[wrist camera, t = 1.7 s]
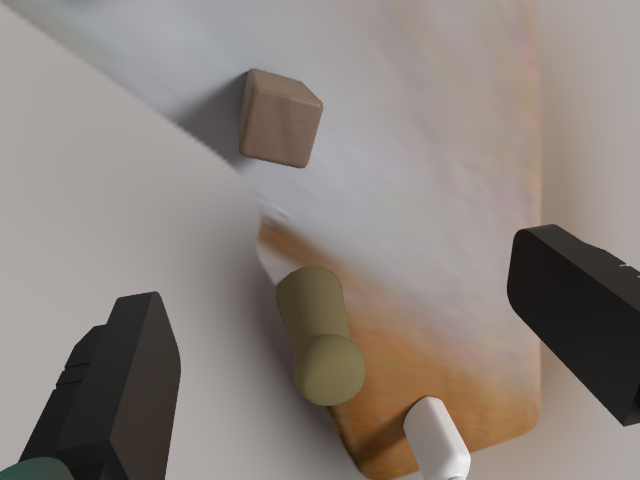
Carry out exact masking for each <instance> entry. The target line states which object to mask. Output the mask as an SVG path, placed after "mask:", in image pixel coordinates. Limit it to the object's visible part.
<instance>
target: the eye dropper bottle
mask: <svg viewBox="0 0 640 480" xmlns="http://www.w3.org/2000/svg"><path fill="white" fill-rule="evenodd" d="M403 428H404V431H405V434H406V436H407V439H408V441H409V444H410V446H411V449H412V451H413V453H414V456H415V458H416V461H417V463H418V466H419V468H420V470H421V473H422V475H423V478H424V480H466V476H467V474H468V471H469V468H470V461H471V459H470V454H469V452H468V450H467V448H466V446H465V444H464V442H463V440H462V438H461V436H460V434H459V432H458V431H457V429H456V427H455V425H454V423H453V421H452V419H451V417H450V416H449V414H448V412H447V410H446V408H445V406H444V404H443V402H442V401H441V400H440V399H438V398H434V397H429V396H426V397H424V398H422V399H421V400H419V401H418V402H417V403H416V404H415V405H414V406H413V407H412V408H411V409H410V411H409V412H408V414H407V415H406V418H405V420H404V425H403Z"/></svg>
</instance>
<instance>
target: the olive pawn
mask: <svg viewBox="0 0 640 480" xmlns="http://www.w3.org/2000/svg"><path fill="white" fill-rule="evenodd" d="M276 299H277V305H278V308H279V310H280V313H281V315H282V318H283V321H284V324H285V326H286V329H287V332H288V334H289V337H290V340H291V342H292V345H293V347H294V350H295V353H296V356H295V361H294V365H293V375H294V381H295V384H296V387H297V389H298V390H299V392H300V393H301V394H302V396H303V397H305V398H306V399H307V400H309V401H310V402H312V403H314V404H318V405H321V406H332V405H336V404H340V403H343V402H345V401H347V400H349V399H350V398H352V397H353V396H354V395H356V394H357V392H358V391H359V390H360V388H361V387H362V384H363V381H364V379H365V376H366V369H365V360H364V357H363V355H362V353H361V351H360V349H359V348H358V346H357V345H356V344H355V343H354V342H353V341H352V340H350V335H349V329H348V323H347V317H346V310H345V304H344V298H343V292H342V285H341V283H340V281H339V279H338V277H337V276H335V275H334V274H333V273H332V272H331V271H329V270H326V269H324V268H322V267H312V266H311V267H305V268H300V269H298V270H296V271H294V272H292V273H290V274H289V275H288V276H287V277H286V278H284V279H283V280H282V282H281V284H280V285H279V287H278V290H277V295H276Z"/></svg>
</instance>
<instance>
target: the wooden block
mask: <svg viewBox="0 0 640 480" xmlns="http://www.w3.org/2000/svg"><path fill="white" fill-rule="evenodd" d="M322 111H323V103H322V102H321V101H320V100H319V99H318V98H317V97H316V96H315V95H314V94H313V93H312V92H311V91H310V90H309V89H308V88H307V87H306V86H305V85H304V84H303V83H302V82H301V81H298V80H294V79H291V78H287V77H283V76H280V75H276V74H273V73H269V72H266V71H262V70H258V69H250V70H249V72H248V74H247V79H246V84H245V89H244V94H243V99H242V104H241V109H240V115H239V120H238V122H239V149H240V153H241V154H242V155H244V156H245V157H250V158H254V159H259V160H263V161H268V162H273V163H277V164H282V165H286V166H291V167H295V168H305V167H306V166H307V164H308V162H309V158H310V155H311V151H312V147H313V144H314V140H315V136H316V133H317V129H318V125H319V122H320V118H321V115H322Z"/></svg>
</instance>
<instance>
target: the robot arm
mask: <svg viewBox="0 0 640 480" xmlns="http://www.w3.org/2000/svg"><path fill="white" fill-rule="evenodd" d="M507 295H508V299H509V302H510V304H511V306H512V308H513V310H514V311H515V312H516V314H517V315H518V316H519V317H520V318H521V319H522V320H523V321H524V322H525V323H526V324H527V325H528V326H529V327H530V328H531V329H532V330H533V332H534V333H535V334H536V335H537V336H538V337H539V338H540V339H541V340H542V341H543V342H544V343H545V344H546V345H547V346H548V347H549V348H550V349H551V351H552V352H553V353H554V354H555V355H556V356H557V357H558V358H559V359H560V360H561V361H562V362H563V363H564V364H565V365H566V366H567V367H568V368H569V369H570V371H572V373H573V374H574V375H575V376H576V377H577V378H578V379H579V380H580V381H581V382H582V383H583V384H584V385H585V386H586V387H587V388H588V389H589V391H590V392H591V393H592V394H593V395H594V396H595V397H596V398H597V399H598V400H599V401H600V402H601V403H602V404H603V405H604V406H605V407H606V408H607V409H608V410H609V412H610V413H611V414H612V415H613V416H614V417H615V418H616V419H617V420H618V421H619V422H620V423H621V424H622V425H623V426H628V425H633V424H637V423H640V272H639V271H637V270H636V269H634V268H633V267H631V266H626V263H625V262H623V261H621V260H620V259H618V258H617V257H615V256H613V255H612V254H610V253H609V252H607V251H606V250H603V249H600V248H597V247H595V246H592V245H589V244H586V243H584V242H582V241H581V240H579V239H578V238H576V237H575V236H573V235H572V234H570V233H568V232H567V231H565V230H564V229H562V228H561V227H559V226H557V225H555V224H549V225H543V226H538V227H532V228H526V229H521V230H519V231H518V232H517V233H516V234H515V236H514V240H513V247H512V254H511V261H510V267H509V274H508V281H507ZM180 375H181V363H180V356H179V351H178V346H177V343H176V340H175V337H174V334H173V332H172V328H171V325H170V322H169V319H168V317H167V313H166V310H165V307H164V304H163V301H162V298H161V296H160V294H159V293H158V292H156V291H154V292H148V293H142V294H137V295H131V296H125V297H120V298H118V299H117V300H116V302H115V305H114V307H113V309H112V312H111V314H110V317H109V319H108V321H107V324H105V325H100V326H94V327H93V328H92V329H91V330H90V331H89V332H88V333H87V334H86V335H85V336H84V337H83V338H82V339H81V340H80V341H79V342H78V343H77V344H76V345H75V346H74V349H73V350H72V352H71V354H70V357H69V359H68V361H67V363H66V365H65V371H62V373H61V375H60V377H59V379H58V381H57V383H56V389H55V390H53V392H52V394H51V395H50V398H49V400H48V402H47V404H46V406H45V408H44V410H43V412H42V414H41V416H40V418H39V420H38V422H37V424H36V426H35V428H34V430H33V432H32V434H31V436H30V439H29V441H28V443H27V445H26V447H25V449H24V451H23V453H22V455H21V457H20V459H19V461H18V463H16V464H14V465H12V466H10V467H8V468H6V469H5V470H3V471H1V472H0V480H165V474H166V467H167V461H168V454H169V448H170V441H171V434H172V427H173V422H174V415H175V409H176V402H177V395H178V389H179V382H180Z"/></svg>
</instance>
